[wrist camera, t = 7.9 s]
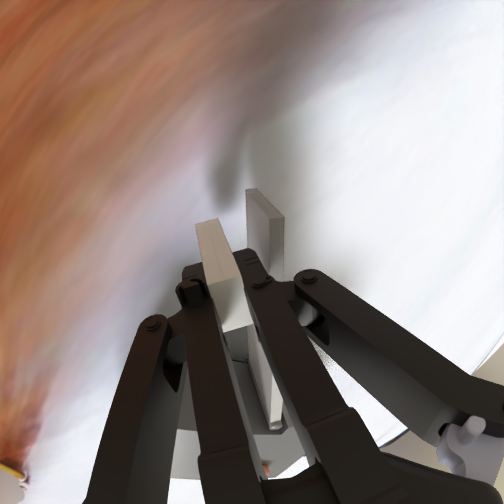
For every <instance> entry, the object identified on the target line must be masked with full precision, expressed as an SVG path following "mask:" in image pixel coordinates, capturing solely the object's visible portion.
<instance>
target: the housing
mask: <svg viewBox="0 0 504 504" xmlns="http://www.w3.org/2000/svg"><path fill="white" fill-rule="evenodd" d="M232 364H233V367H234V371H235V375H236V378H237V382H238V385H239V389H240V392H241V396H242V399H243V403H244V406H245V410H246V413H247V416H248V420H249V423H250V426H251V430H252V433H253V436H254V439H255V443H256V446H257V449H258V452H259V455H260V458H261V461H262V465H263V468H264V470H265V473H266V475H267V478H273V477H277V476H278V475H279V474H281V473H282V472H283V471H285V470H286V469H287V468H288V467H290V466H291V465H292V464H294V463H295V462H296V461H297V460H298V459H300V458H301V457H303V456H306V455H305V452H304V450H303V447H302V445H301V442H300V440H299V438H298V435H297V433H296V430H295V428H294V426H293V423H292V421H291V418H290V416H289V413H288V411H287V409H286V406H285V404H284V401H283V402H282V413H281V423H282V427H281V428H280V429H278V430H270V428H269V425H268V423H267V420H266V417H265V414H264V411H263V408H262V405H261V402H260V399H259V396H258V393H257V390H256V387H255V384H254V380H253V377H252V374H251V371H250V368H249V365H248V363H242V362H236V361H232ZM200 453H201V451H200V444H199V439H198V433H197V427H196V421H195V414H194V408H193V401H192V394H191V387H190V379H189V372H188V368H187V374H186V379H185V385H184V391H183V397H182V403H181V409H180V415H179V421H178V427H177V434H176V441H175V447H174V454H173V461H172V468H171V476H170V478H178V479H196V480H200V475H199V470H198V462H197V460H198V456H199V455H200Z"/></svg>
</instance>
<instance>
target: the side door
mask: <svg viewBox="0 0 504 504" xmlns="http://www.w3.org/2000/svg"><path fill="white" fill-rule="evenodd" d="M245 193H246V221H247V248H250V249H252V250H254V251H255V252H256V253H257V255H258V257H259V259H260V261H261V262H262V264H263V266H264V268H265V270H266V271H267V273H268V275H270V276H272V277H273V278H274V279H275V280H276V281H280V282H283V258H284V216H283V215H282V214H281V213H280V212H279V211H278V210H277V209H276V208H275V207H274V206H273V205H272V204H271V203H270V202H269V201H268V200H267V198H266V197H265V196H264V195H263V194H262V193H261V192H260V191H259V190H258V189H257V188H256V189H245ZM247 330H248V350H249V359H248V360H247V362H248V365H249V368H250V371H251V374H252V377H253V380H254V384H255V387H256V390H257V393H258V396H259V399H260V402H261V405H262V408H263V411H264V414H265V417H266V420H267V423H268V425H269V428H270V430H278V429H280V428H281V427H282V423H281V413H282V402H283V399H282V396H281V394H280V391H279V389H278V386H277V384H276V381H275V379H274V376H273V374H272V371H271V369H270V366H269V364H268V361H267V359H266V356H265V354H264V351H263V348H262V346H261V343H260V342H258V338H257V334H256V330H255V326H254V323H253V324H251V325H247Z"/></svg>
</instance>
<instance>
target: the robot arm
mask: <svg viewBox="0 0 504 504" xmlns="http://www.w3.org/2000/svg"><path fill="white" fill-rule="evenodd" d="M195 227H196V232H197V238H198V243H199V248H200V253H201V258H202V262H201V263H197V264H194V265H190V266H187V267H185V268H184V270H183V272H182V282H181V283H179V284H178V286H177V287H176V290H175V291H176V294H177V296H178V299H179V301H180V303H181V306H182V309H181V310H180V311H179V312H178V313H177V314H175V315H174V316H172V317H170V318H168V319H167V318H166V317H165V316H163V315H158V314H156V315H152V316H150V317H148V318H146V319H145V320H143V321H142V322H141V324H140V326H139V328H138V330H137V333H136V336H135V338H134V341H133V344H132V346H131V349H130V352H129V355H128V357H127V360H126V363H125V366H124V369H123V372H122V374H121V377H120V380H119V383H118V386H117V389H116V392H115V395H114V398H113V402H112V405H111V408H110V411H109V414H108V418H107V421H106V424H105V427H104V431H103V434H102V438H101V441H100V445H99V448H98V452H97V456H96V459H95V463H94V467H93V471H92V475H91V479H90V483H89V487H88V492H87V496H86V498H85V500H84V502H83V503H82V504H167V499H168V491H169V483H170V476H171V468H172V461H173V454H174V447H175V441H176V434H177V427H178V421H179V415H180V409H181V403H182V397H183V391H184V385H185V379H186V374H187V368H188V372H189V379H190V387H191V394H192V401H193V408H194V414H195V421H196V427H197V433H198V439H199V444H200V451H201V453H200V455H199V456H198V460H197V462H198V470H199V475H200V480H201V485H202V490H203V495H204V500H205V504H503V501H502V498H501V496H500V494H499V492H498V491H497V490H496V488H494V487H493V485H494V483H495V480H496V477H497V475H498V472H499V469H500V466H501V463H502V460H503V457H504V386H502V385H499V384H496V383H493V382H490V381H486V380H483V379H480V378H477V377H474V376H471V375H469V374H467V373H466V372H464V371H463V370H462V369H460V368H459V367H458V366H456V365H455V364H453V363H452V362H451V361H449V360H448V359H447V358H445V357H444V356H442V355H441V354H440V353H438V352H437V351H435V350H434V349H433V348H431V347H430V346H428V345H427V344H426V343H424V342H423V341H421V340H420V339H418V338H417V337H416V336H414V335H413V334H411V333H410V332H409V331H407V330H406V329H404V328H403V327H401V326H400V325H399V324H397V323H396V322H394V321H393V320H391V319H390V318H388V317H387V316H386V315H384V314H383V313H381V312H380V311H378V310H377V309H375V308H374V307H373V306H371V305H370V304H368V303H367V302H365V301H364V300H362V299H361V298H359V297H358V296H357V295H355V294H354V293H352V292H351V291H349V290H348V289H346V288H345V287H343V286H342V285H340V284H339V283H337V282H336V281H334V280H333V279H332V278H330V277H329V276H327V275H326V274H324V273H323V272H321V271H319V270H315V269H307V270H303V271H300V272H299V273H297V274H296V275H295V277H294V281H288V282H280V281H276V280H275V279H274V278H273V277H272V276H270V275H268V273H267V271H266V270H265V268H264V266H263V264H262V262H261V261H260V259H259V257H258V255H257V253H256V252H255V251H254V250H252V249H250V248H247V249H243V250H240V251H236V252H233V253H232V252H231V249H230V247H229V244H228V242H227V239H226V237H225V234H224V232H223V229H222V227H221V224H220V222H219V219H218V218H216V219H212V220H209V221H205V222H202V223H198V224H195ZM253 323H254V326H255V330H256V334H257V338H258V342H260V343H261V346H262V348H263V351H264V354H265V356H266V359H267V361H268V364H269V366H270V369H271V371H272V374H273V376H274V379H275V381H276V384H277V386H278V389H279V391H280V394H281V396H282V399H283V401H284V404H285V406H286V409H287V411H288V413H289V416H290V418H291V421H292V423H293V426H294V428H295V430H296V433H297V435H298V438H299V440H300V442H301V445H302V447H303V450H304V452H305V455H306V457H307V460H308V463H309V466H310V467H309V468H307V469H305V470H304V471H302V472H301V473H299V474H297V475H296V476H294V477H291V478H284V479H270V480H268V478H267V475H266V473H265V470H264V468H263V465H262V461H261V458H260V455H259V452H258V449H257V446H256V443H255V439H254V436H253V433H252V430H251V426H250V423H249V420H248V416H247V413H246V410H245V406H244V403H243V399H242V396H241V392H240V389H239V385H238V382H237V378H236V375H235V371H234V367H233V364H232V360H231V356H230V353H229V349H228V345H227V341H226V338H225V335H224V332H227V331H231V330H234V329H237V328H241V327H244V326H247V325H251V324H253ZM307 335H308V336H309V337H310V338H311V339H312V340H313V341H314V342H315V343H316V344H317V345H318V346H319V347H320V348H321V349H322V350H323V351H324V352H326V353H327V354H328V355H329V356H330V357H331V358H332V359H333V360H334V361H335V362H336V363H337V364H338V365H339V366H341V367H342V368H343V369H344V370H345V371H346V372H347V373H348V374H349V375H350V376H351V377H352V378H354V379H355V380H356V381H357V382H358V383H359V384H360V385H361V386H362V387H363V388H364V389H365V390H367V391H368V392H369V393H370V394H371V395H372V396H373V397H374V398H375V399H376V400H378V401H379V402H380V403H381V404H382V405H383V406H384V407H385V408H386V409H387V410H389V411H390V412H391V413H392V414H393V415H394V416H395V417H396V418H397V419H399V420H400V421H401V422H402V423H403V424H404V425H405V426H406V427H407V428H409V429H410V430H411V431H412V432H413V433H415V434H416V435H417V436H419V437H420V438H421V439H422V440H424V441H426V442H428V443H429V444H431V445H433V446H435V447H437V456H438V459H439V462H440V463H441V464H443V465H446V466H447V467H449V468H450V470H451V471H452V474H451V473H447V472H444V471H441V470H437V469H434V468H431V467H428V466H424V465H421V464H418V463H415V462H412V461H409V460H407V459H404V458H401V457H398V456H395V455H392V454H390V453H385V452H381V451H380V450H379V448H378V446H377V444H376V443H375V441H374V439H373V437H372V436H371V434H370V432H369V430H368V429H367V427H366V425H365V424H364V422H363V420H362V418H361V417H360V415H359V414H358V412H357V411H356V410H355V409H354V408H353V407H348V406H347V404H346V403H345V401H344V399H343V398H342V396H341V394H340V392H339V391H338V389H337V387H336V385H335V384H334V382H333V380H332V378H331V376H330V375H329V373H328V371H327V369H326V368H325V366H324V364H323V362H322V361H321V359H320V357H319V355H318V354H317V352H316V350H315V348H314V347H313V345H312V343H311V341H310V340H309V338H308V336H307Z"/></svg>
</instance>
